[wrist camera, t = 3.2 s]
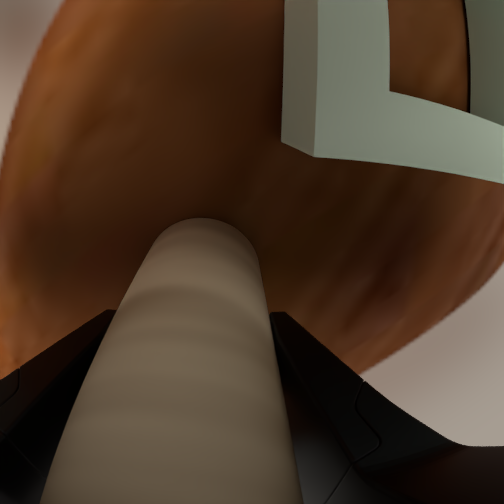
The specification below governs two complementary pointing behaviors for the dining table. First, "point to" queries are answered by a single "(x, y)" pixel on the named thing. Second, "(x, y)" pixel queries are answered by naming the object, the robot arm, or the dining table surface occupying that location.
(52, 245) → the dining table surface
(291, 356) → the robot arm
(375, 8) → the socket
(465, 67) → the dining table surface
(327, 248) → the dining table surface
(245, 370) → the peg
